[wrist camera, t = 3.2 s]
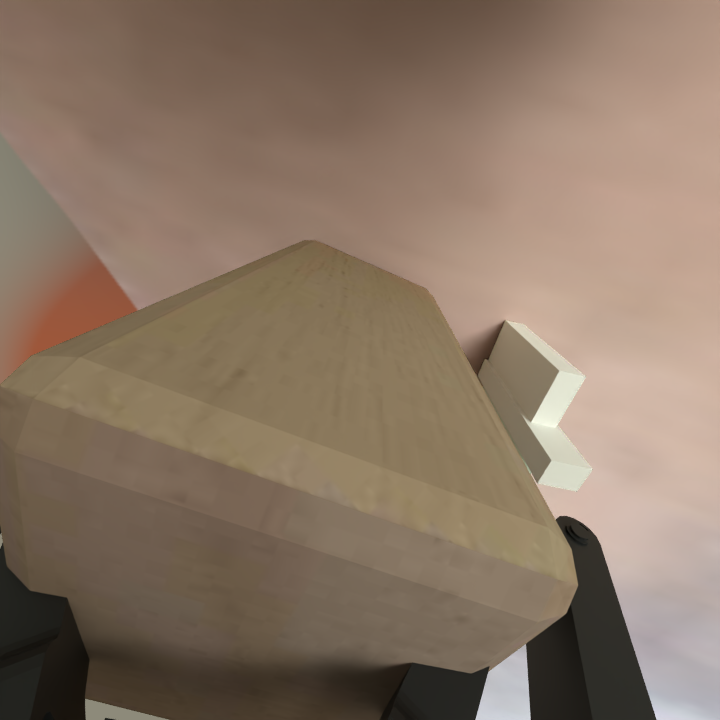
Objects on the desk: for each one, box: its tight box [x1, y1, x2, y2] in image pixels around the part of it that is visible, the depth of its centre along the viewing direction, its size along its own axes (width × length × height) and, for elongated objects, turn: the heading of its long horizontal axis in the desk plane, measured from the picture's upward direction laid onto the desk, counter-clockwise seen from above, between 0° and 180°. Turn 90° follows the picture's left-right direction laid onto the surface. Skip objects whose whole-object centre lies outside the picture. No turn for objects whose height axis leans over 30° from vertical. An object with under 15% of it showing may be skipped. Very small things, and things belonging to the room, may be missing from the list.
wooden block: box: [0, 240, 578, 720], centre depth 15 cm, size 10×10×20 cm
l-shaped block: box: [478, 320, 593, 492], centre depth 25 cm, size 31×2×11 cm, turn 168°
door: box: [482, 386, 531, 474], centre depth 26 cm, size 19×3×8 cm, turn 168°
